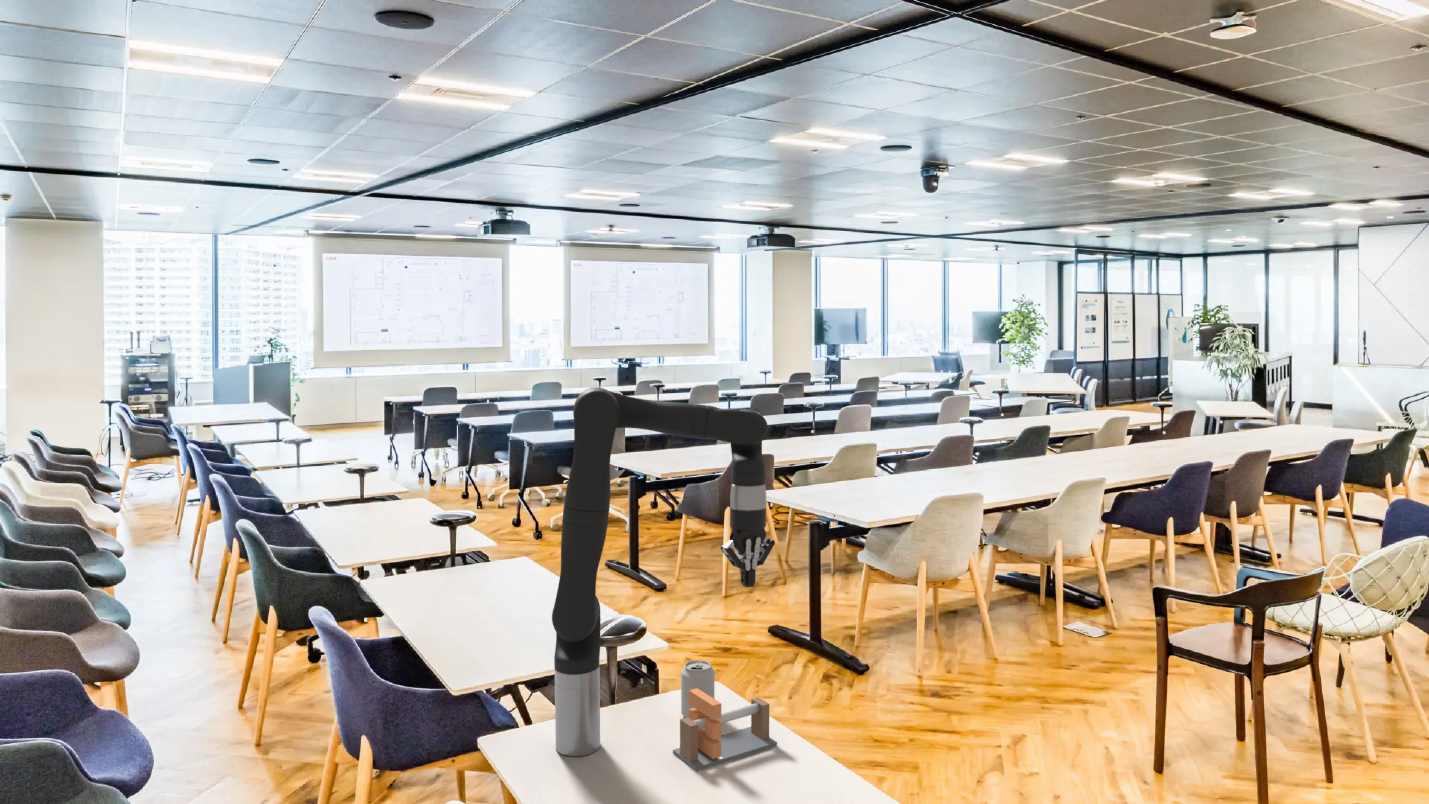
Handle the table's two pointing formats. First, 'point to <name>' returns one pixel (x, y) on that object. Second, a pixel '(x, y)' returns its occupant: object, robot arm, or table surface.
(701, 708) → the collar
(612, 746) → the table surface
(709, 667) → the can
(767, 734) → the pipe stand
